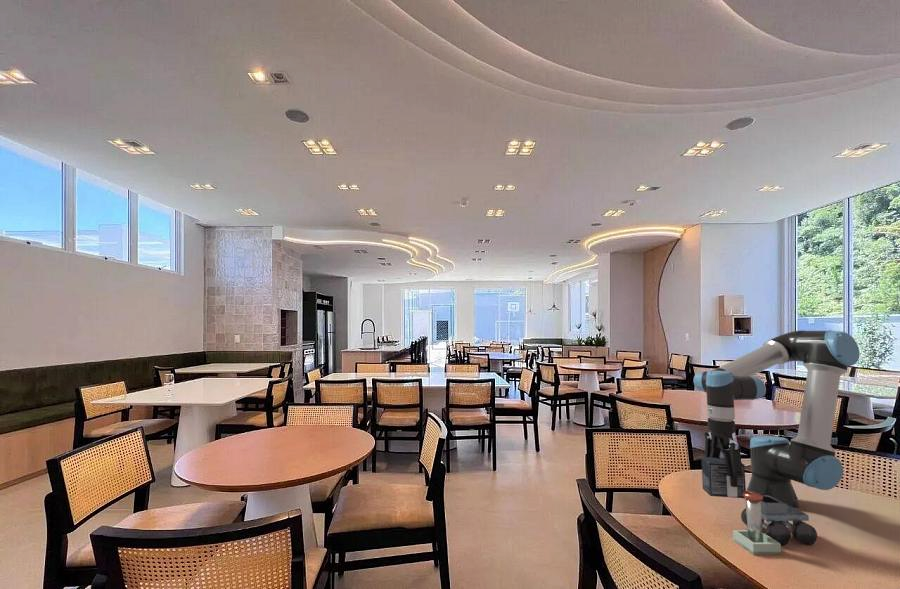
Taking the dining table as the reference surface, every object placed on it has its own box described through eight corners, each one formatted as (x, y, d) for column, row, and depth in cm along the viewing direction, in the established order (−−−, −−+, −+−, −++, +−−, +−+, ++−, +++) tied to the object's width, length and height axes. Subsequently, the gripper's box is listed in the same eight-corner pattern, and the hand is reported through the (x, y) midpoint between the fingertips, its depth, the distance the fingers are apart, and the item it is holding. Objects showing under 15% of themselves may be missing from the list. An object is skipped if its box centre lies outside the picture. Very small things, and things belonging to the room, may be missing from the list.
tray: (759, 540, 125) (758, 529, 125) (781, 554, 117) (780, 543, 117) (733, 540, 125) (732, 530, 125) (753, 555, 117) (753, 544, 117)
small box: (736, 490, 135) (735, 458, 136) (747, 499, 129) (746, 464, 129) (701, 488, 137) (700, 455, 138) (710, 496, 131) (709, 462, 131)
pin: (758, 540, 123) (754, 490, 124) (770, 548, 118) (766, 497, 120) (742, 540, 123) (738, 490, 125) (753, 548, 118) (750, 496, 120)
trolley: (783, 525, 134) (781, 491, 135) (817, 545, 122) (815, 507, 123) (741, 526, 133) (740, 491, 134) (771, 546, 121) (769, 508, 122)
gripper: (690, 412, 144) (692, 479, 143) (731, 426, 125) (734, 504, 123) (711, 412, 145) (714, 479, 143) (755, 426, 125) (759, 504, 123)
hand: (723, 491), depth 133 cm, fingers closed on small box, 7 cm apart
